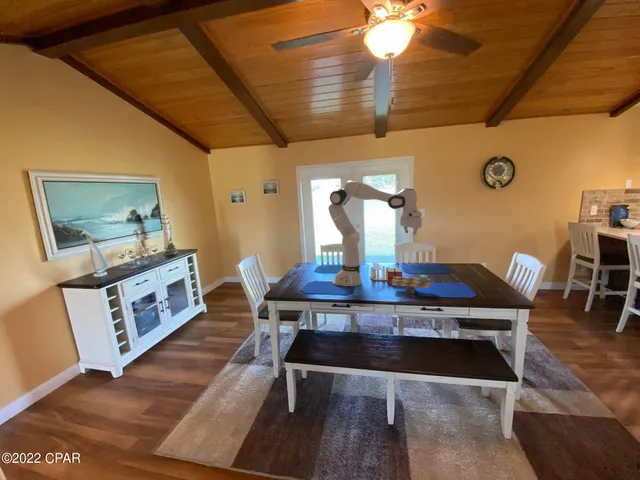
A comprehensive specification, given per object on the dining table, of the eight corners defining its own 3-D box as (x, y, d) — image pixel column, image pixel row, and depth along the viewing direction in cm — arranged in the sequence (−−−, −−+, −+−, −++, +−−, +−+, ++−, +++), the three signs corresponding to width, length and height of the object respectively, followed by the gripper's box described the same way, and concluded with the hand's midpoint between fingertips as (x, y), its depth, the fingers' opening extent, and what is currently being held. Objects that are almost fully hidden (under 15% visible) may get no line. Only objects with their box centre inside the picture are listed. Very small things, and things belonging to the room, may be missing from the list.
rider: (419, 284, 179) (419, 276, 178) (420, 281, 183) (420, 274, 182) (427, 284, 177) (427, 277, 176) (427, 282, 181) (427, 275, 180)
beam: (391, 292, 185) (391, 280, 183) (393, 287, 193) (393, 276, 191) (429, 296, 175) (429, 283, 174) (430, 291, 184) (430, 278, 182)
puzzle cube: (402, 285, 198) (402, 271, 196) (387, 284, 200) (387, 271, 198) (400, 280, 208) (400, 268, 206) (387, 280, 210) (387, 267, 208)
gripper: (397, 212, 188) (398, 232, 190) (414, 214, 169) (414, 236, 171) (405, 212, 190) (406, 231, 192) (423, 213, 170) (423, 235, 172)
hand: (410, 233), depth 181 cm, fingers open, 8 cm apart
